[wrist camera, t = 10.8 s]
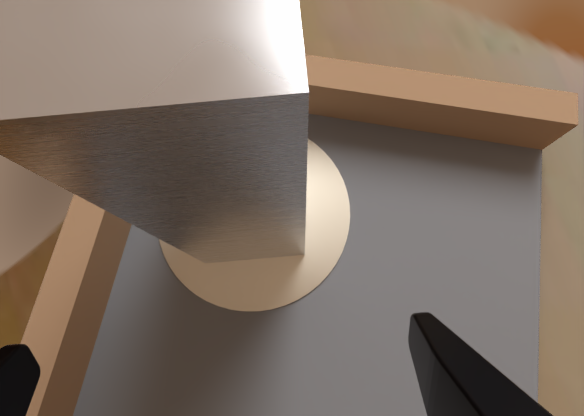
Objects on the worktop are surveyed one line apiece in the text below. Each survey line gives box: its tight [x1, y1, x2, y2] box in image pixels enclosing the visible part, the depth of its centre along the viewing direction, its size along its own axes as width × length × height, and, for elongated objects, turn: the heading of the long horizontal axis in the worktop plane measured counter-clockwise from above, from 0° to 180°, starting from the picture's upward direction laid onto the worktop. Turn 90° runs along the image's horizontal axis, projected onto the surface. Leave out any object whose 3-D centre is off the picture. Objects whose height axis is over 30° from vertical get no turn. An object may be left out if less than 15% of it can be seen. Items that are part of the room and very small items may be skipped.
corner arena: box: [21, 55, 578, 416], centre depth 16 cm, size 20×20×3 cm
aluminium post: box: [0, 0, 309, 263], centre depth 12 cm, size 4×4×13 cm
